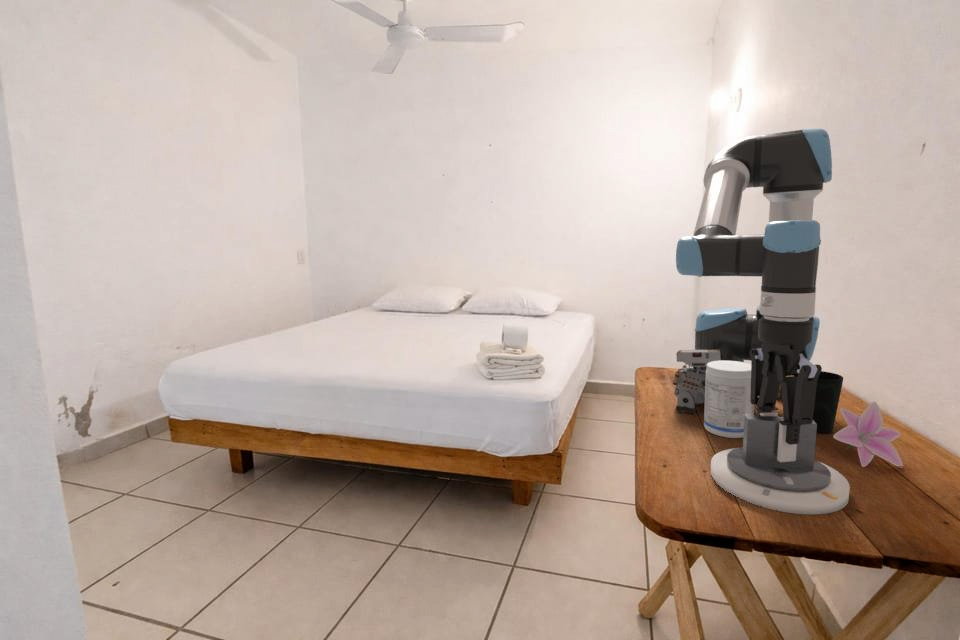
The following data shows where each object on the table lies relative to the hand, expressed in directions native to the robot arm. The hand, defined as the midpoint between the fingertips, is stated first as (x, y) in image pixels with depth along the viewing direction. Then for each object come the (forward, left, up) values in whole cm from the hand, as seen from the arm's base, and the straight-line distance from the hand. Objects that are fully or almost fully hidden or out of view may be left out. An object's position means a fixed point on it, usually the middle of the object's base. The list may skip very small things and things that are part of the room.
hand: (776, 454), depth 83 cm
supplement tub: (-20, -12, -5) cm, 24 cm away
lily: (-20, +12, -5) cm, 24 cm away
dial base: (0, 0, -5) cm, 5 cm away
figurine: (-31, -21, -5) cm, 38 cm away
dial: (0, 0, -3) cm, 3 cm away
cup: (-32, +3, -5) cm, 33 cm away
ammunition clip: (-56, -8, -5) cm, 57 cm away
